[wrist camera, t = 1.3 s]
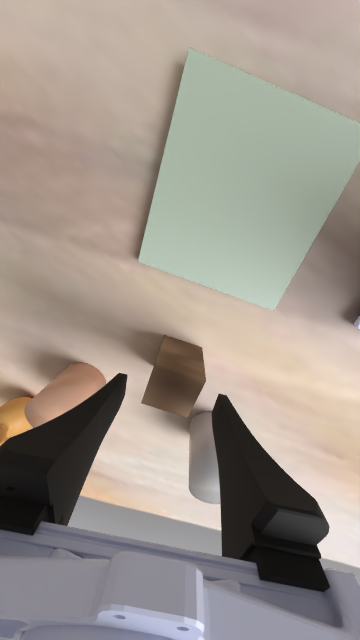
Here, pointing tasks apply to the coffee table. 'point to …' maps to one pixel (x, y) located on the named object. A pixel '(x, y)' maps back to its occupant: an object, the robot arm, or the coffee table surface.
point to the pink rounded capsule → (64, 393)
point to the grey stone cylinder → (203, 460)
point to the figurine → (13, 418)
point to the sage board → (244, 181)
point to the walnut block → (176, 377)
